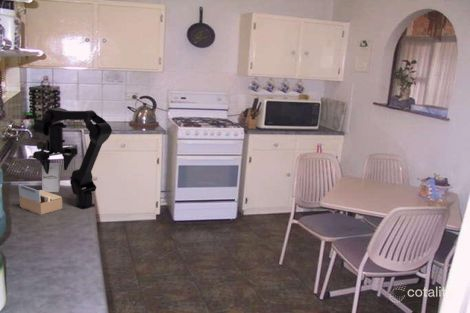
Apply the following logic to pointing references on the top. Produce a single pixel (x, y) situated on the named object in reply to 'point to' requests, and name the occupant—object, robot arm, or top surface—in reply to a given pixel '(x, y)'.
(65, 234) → the top surface
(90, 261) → the top surface
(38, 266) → the top surface
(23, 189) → the flap
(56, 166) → the supplement box
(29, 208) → the carton
